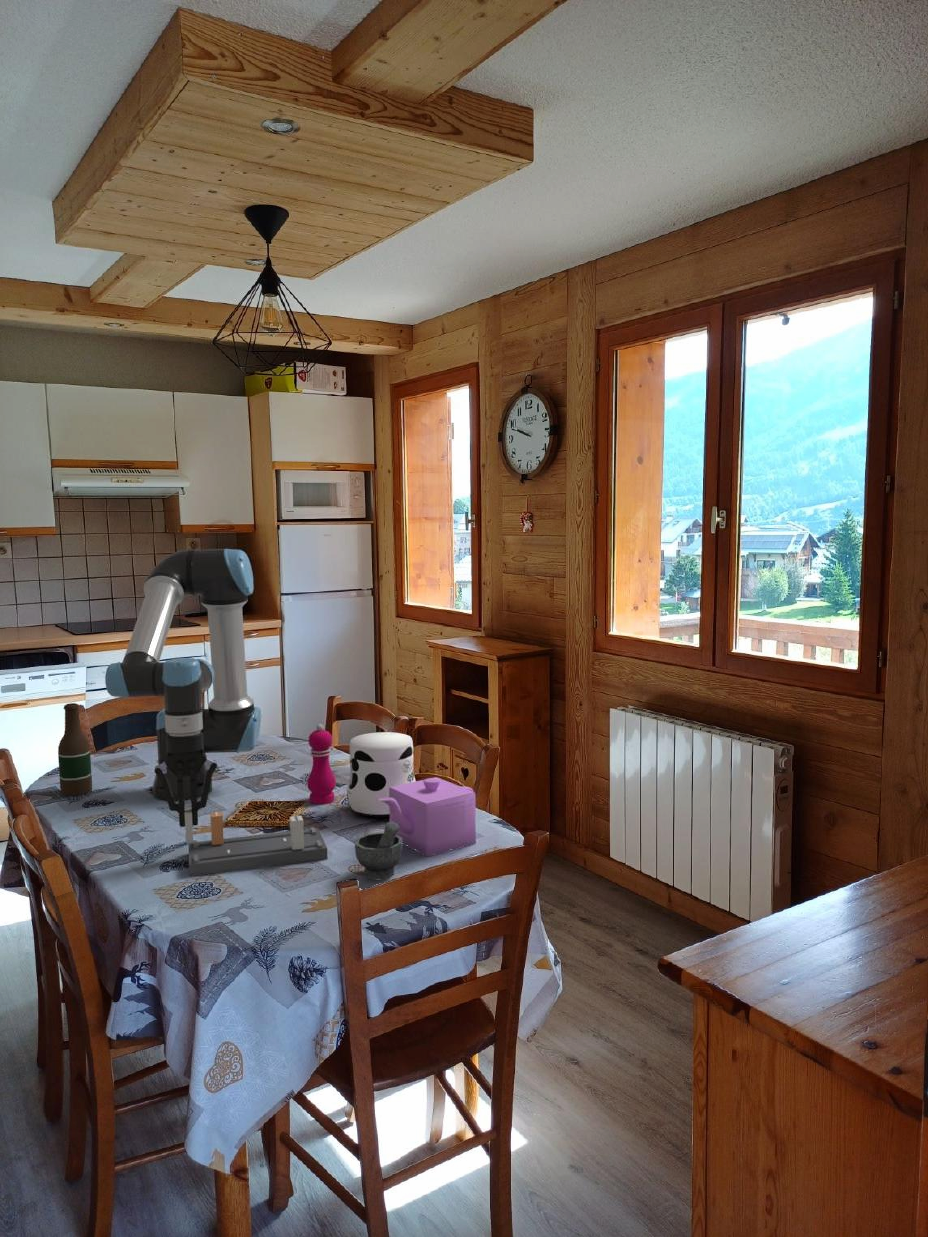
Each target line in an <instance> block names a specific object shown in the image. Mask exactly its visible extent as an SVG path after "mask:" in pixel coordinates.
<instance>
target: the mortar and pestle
mask: <svg viewBox="0 0 928 1237" xmlns="http://www.w3.org/2000/svg"><path fill="white" fill-rule="evenodd" d="M398 830H399V826H398V825H397V823H395V822H390V821H388V822H386V823H385V826H384V831H383V832H375V833H374V832H373V833H367V834H364V835H362V836H359V837H357V838H356V839H355V842H354V852H355V857H356V859H357V861H358V863H359V864H360V865H361V866H362V867H363V868H364V877H366V878H367V879H369V880H375V879H381V880H387V879H386V878H388V879H389V878H391V877H393V876H395V866H396V865H397V864H398V863H399V861H400V859H401V858H402V851H403V844H402V837H400V836H398V835H396V833H397V832H398Z"/></svg>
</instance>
